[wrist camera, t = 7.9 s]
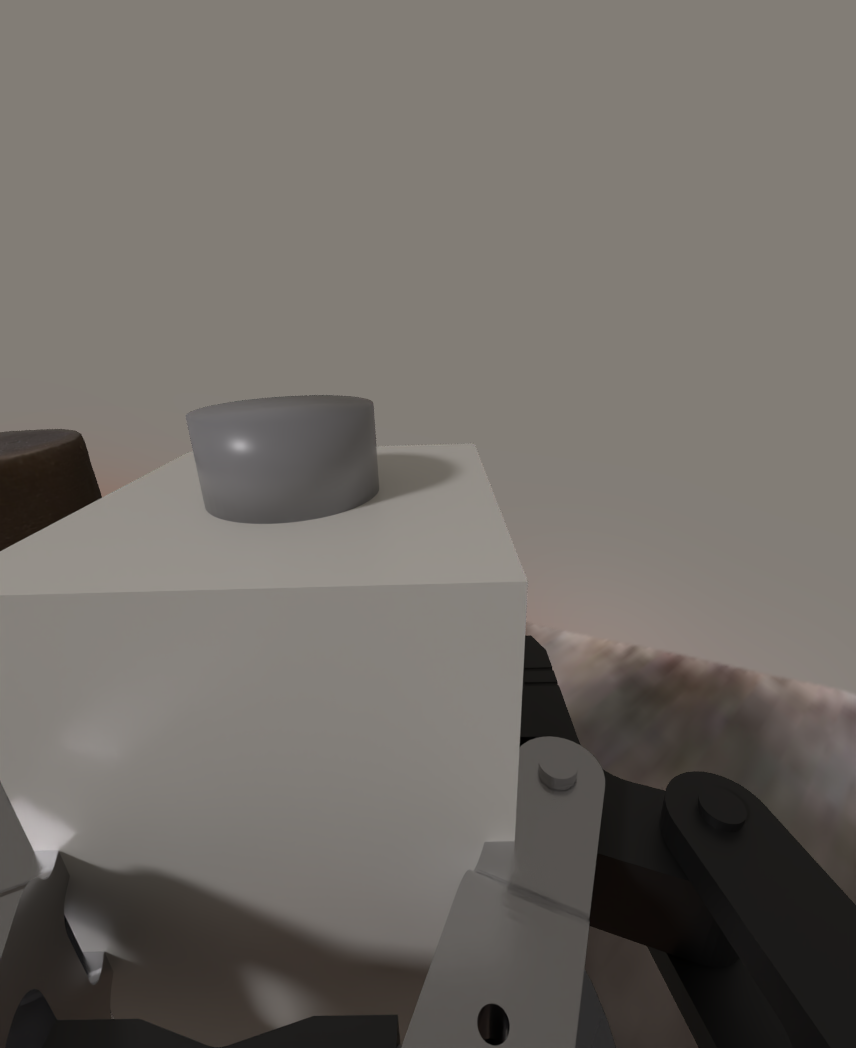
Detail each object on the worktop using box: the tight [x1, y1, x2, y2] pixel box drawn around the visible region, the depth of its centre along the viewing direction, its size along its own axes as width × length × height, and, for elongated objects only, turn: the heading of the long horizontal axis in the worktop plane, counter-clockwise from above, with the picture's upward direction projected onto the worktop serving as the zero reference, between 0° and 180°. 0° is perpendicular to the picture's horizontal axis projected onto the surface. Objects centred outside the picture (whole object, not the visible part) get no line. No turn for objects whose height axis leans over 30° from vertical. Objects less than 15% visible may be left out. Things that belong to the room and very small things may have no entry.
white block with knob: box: [0, 395, 528, 1047], centre depth 9 cm, size 6×6×13 cm
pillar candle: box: [0, 429, 102, 551], centre depth 23 cm, size 10×10×15 cm
